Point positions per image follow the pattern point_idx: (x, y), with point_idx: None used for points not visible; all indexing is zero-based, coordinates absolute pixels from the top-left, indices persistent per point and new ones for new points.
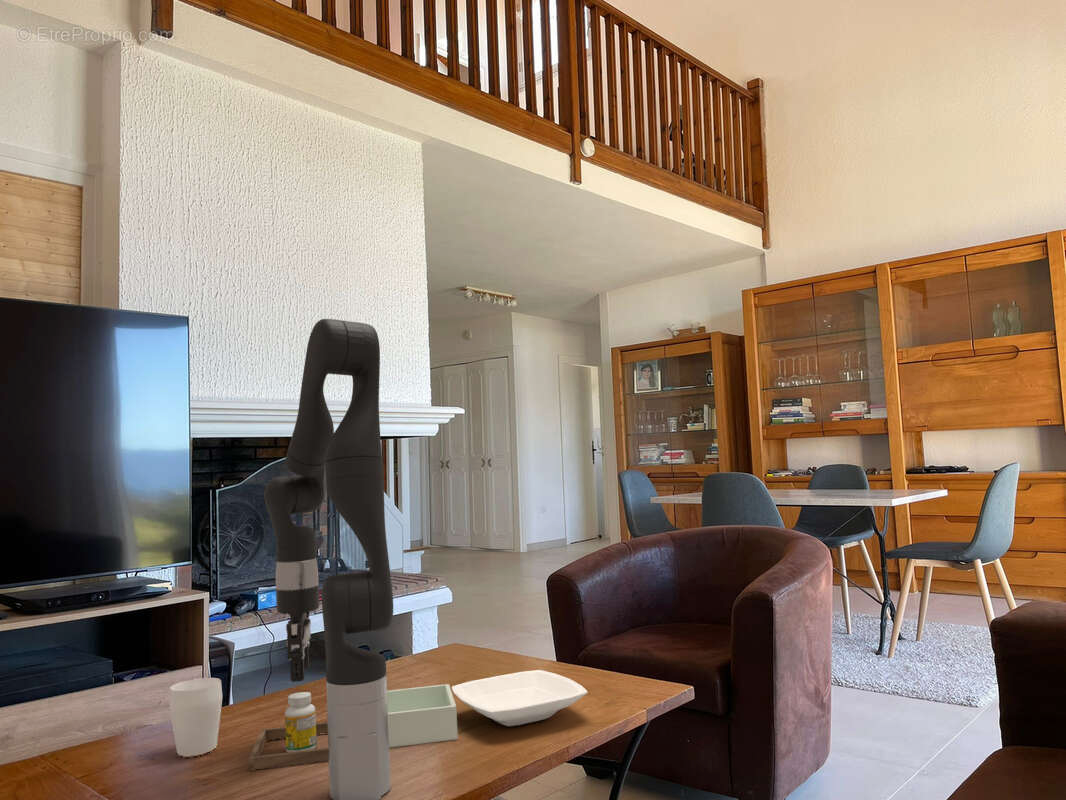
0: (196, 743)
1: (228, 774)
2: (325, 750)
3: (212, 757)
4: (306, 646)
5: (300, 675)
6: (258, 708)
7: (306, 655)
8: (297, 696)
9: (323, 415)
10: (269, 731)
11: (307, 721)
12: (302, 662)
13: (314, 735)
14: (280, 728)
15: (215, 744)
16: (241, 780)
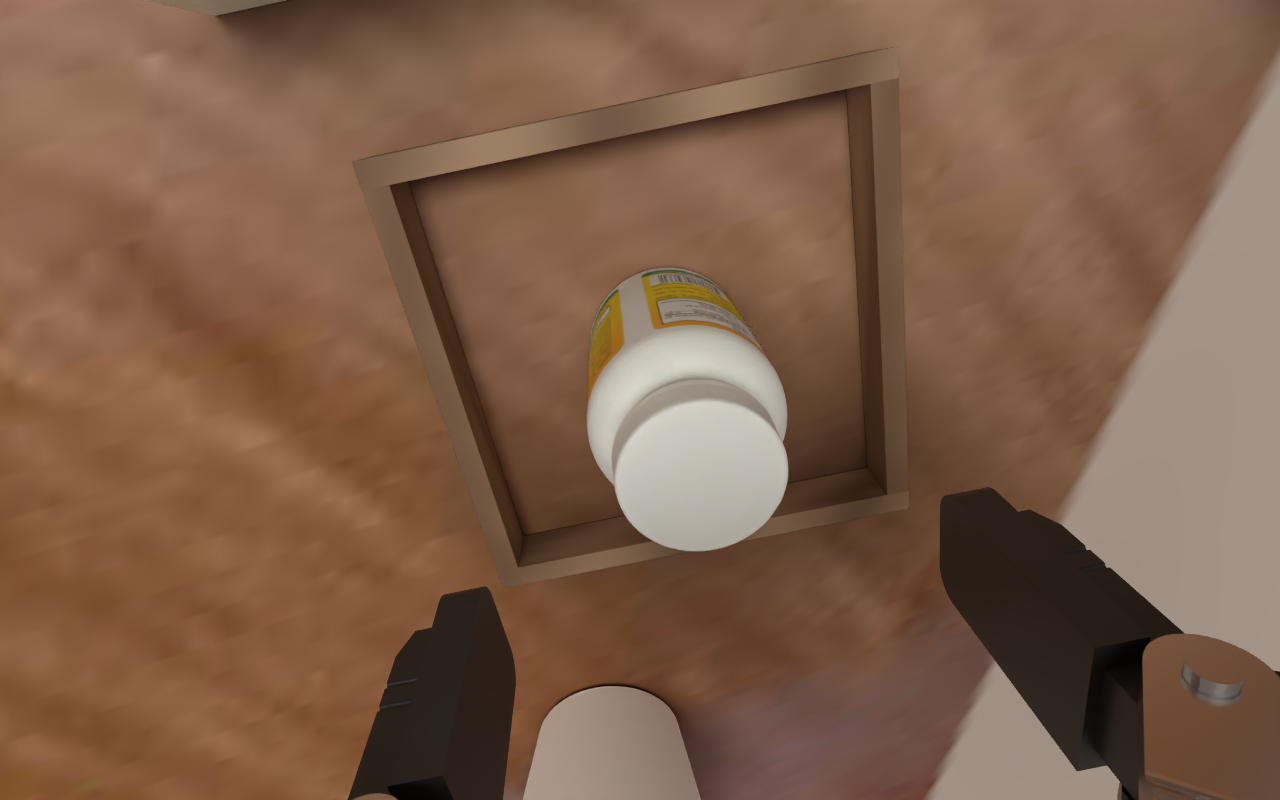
0: (686, 756)
1: (896, 542)
2: (899, 158)
3: (688, 662)
4: (1151, 782)
5: (1066, 529)
6: (37, 723)
7: (466, 703)
8: (737, 484)
9: None
10: (514, 550)
11: (754, 340)
12: (1119, 614)
13: (692, 285)
14: (496, 511)
15: (611, 699)
16: (982, 473)
